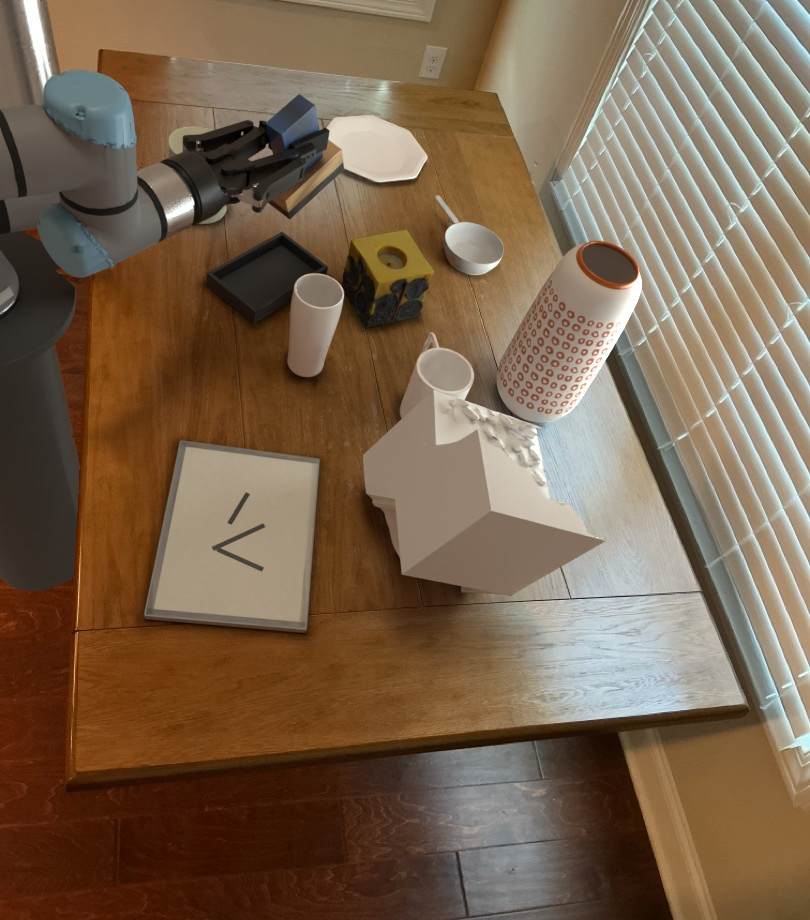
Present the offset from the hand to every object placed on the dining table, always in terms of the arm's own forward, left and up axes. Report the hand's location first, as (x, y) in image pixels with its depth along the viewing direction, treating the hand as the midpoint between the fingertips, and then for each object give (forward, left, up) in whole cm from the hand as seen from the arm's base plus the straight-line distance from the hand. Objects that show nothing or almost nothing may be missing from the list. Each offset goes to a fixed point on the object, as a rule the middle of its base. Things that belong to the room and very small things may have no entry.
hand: (315, 131), depth 98 cm
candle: (+14, -1, -27) cm, 30 cm away
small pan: (+28, +17, -27) cm, 43 cm away
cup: (+21, -21, -27) cm, 40 cm away
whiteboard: (-3, -46, -27) cm, 53 cm away
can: (-17, +14, -27) cm, 35 cm away
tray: (-4, -1, -27) cm, 27 cm away
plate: (+12, +39, -27) cm, 49 cm away
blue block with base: (0, -1, -8) cm, 8 cm away
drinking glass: (+3, -17, -27) cm, 32 cm away
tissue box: (+23, -44, -27) cm, 56 cm away
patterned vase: (+38, -17, -27) cm, 50 cm away
